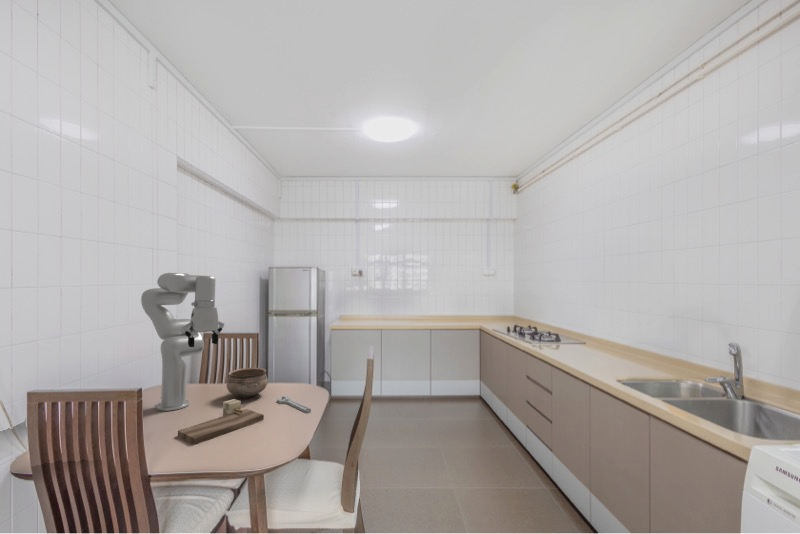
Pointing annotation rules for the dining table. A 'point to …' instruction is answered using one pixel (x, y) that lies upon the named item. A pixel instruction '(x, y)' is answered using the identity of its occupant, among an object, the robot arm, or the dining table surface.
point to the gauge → (231, 407)
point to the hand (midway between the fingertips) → (203, 345)
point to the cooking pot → (247, 382)
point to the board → (219, 426)
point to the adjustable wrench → (293, 404)
